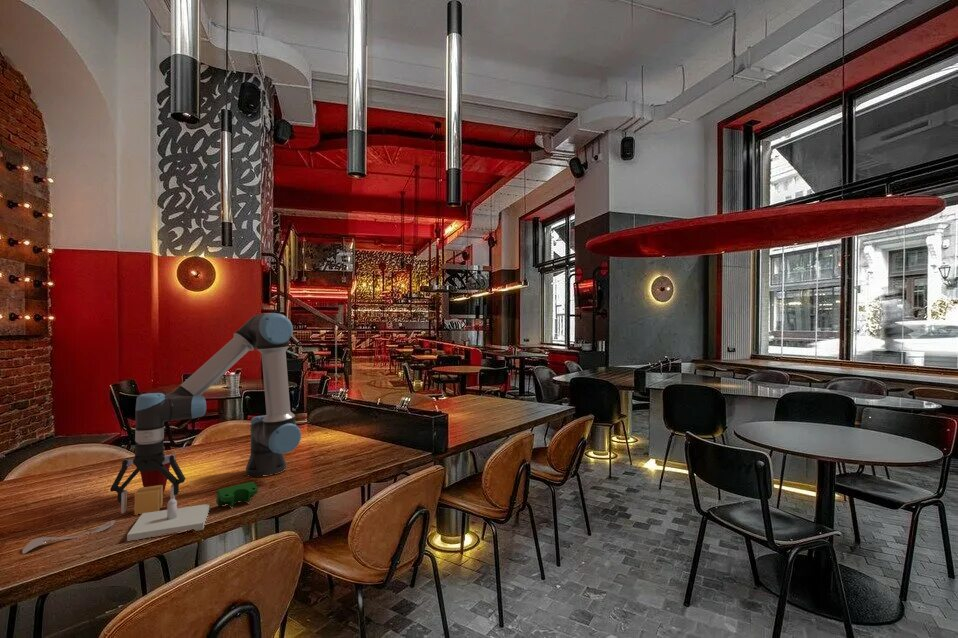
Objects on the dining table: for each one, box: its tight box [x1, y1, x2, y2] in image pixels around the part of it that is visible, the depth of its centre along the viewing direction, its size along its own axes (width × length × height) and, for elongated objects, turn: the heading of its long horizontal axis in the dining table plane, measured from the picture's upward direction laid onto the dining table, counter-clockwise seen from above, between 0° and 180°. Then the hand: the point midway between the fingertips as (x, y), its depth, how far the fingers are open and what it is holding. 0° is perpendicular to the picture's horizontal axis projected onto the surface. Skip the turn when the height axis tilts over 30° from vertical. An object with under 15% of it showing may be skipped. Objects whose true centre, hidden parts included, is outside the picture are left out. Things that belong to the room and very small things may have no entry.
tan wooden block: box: [134, 485, 164, 516], centre depth 146 cm, size 6×6×7 cm
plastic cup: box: [139, 454, 171, 493], centre depth 162 cm, size 11×11×12 cm
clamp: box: [215, 481, 259, 508], centre depth 151 cm, size 12×6×9 cm, turn 131°
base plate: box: [126, 498, 211, 542], centre depth 136 cm, size 18×16×8 cm
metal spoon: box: [21, 520, 117, 555], centre depth 127 cm, size 20×4×5 cm
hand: (148, 508), depth 146 cm, fingers open, 12 cm apart
